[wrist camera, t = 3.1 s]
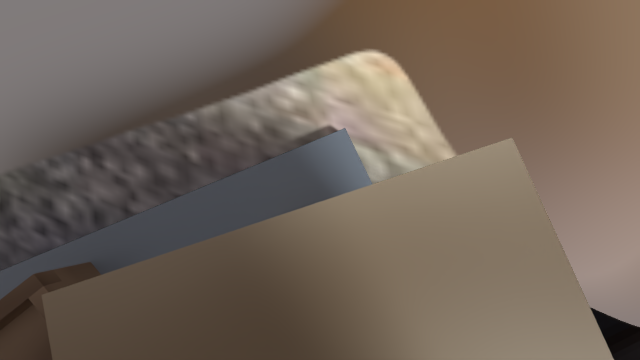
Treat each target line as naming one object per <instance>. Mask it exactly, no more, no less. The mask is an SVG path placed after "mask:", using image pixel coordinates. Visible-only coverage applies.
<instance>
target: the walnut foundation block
mask: <svg viewBox="0 0 640 360" xmlns="http://www.w3.org/2000/svg"><path fill="white" fill-rule="evenodd" d="M100 275H101V274H100V273H99V271H98V270H97V269H96V268H95V267H94V265H93V264H92V263H91V262H87V263H82V264H77V265H73V266H68V267H63V268H58V269H54V270H49V271H44V272H39V273H35V274H33V275H31V276H30V277H29V278H28V279H26V280H25V281H24V282H22V283H21V284H20V285H19V286H17V287H16V288H15V289H13V290H12V291H11V292H9V293H8V294H7V295H6V296H4V297H3V298H2V299H0V360H53V359H52V354H51V348H50V342H49V336H48V330H47V324H46V318H45V312H44V307H43V301H42V295H43V294H46V293H49V292H52V291H55V290H58V289H61V288H64V287H67V286H70V285H73V284H76V283H79V282H82V281H85V280H88V279H91V278H94V277H97V276H100Z"/></svg>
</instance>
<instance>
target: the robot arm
mask: <svg viewBox="0 0 640 360" xmlns="http://www.w3.org/2000/svg"><path fill="white" fill-rule="evenodd" d="M590 309H591V311H592V313H593V315H594V317H595V319H596V322H597V324H598V326H599V328H600V330H601V333H602V335H603V337H604V339H605V341H606V343H607V346H608V348H609V350H610V352H611V354H612V357H613V359H614V360H640V327H637V326H634V325H631V324H628V323H626V322H623V321H620V320H618V319H616V318H613V317H611V316H608V315H606V314H604V313H602V312H599V311H597V310H595V309H593V308H590Z"/></svg>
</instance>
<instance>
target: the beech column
mask: <svg viewBox="0 0 640 360" xmlns="http://www.w3.org/2000/svg"><path fill="white" fill-rule="evenodd" d="M42 301H43V307H44V312H45V318H46V324H47V330H48V336H49V342H50V348H51V354H52V359H53V360H614V359H613V357H612V354H611V352H610V350H609V348H608V346H607V343H606V341H605V339H604V337H603V335H602V333H601V330H600V328H599V326H598V324H597V322H596V319H595V317H594V315H593V313H592V311H591V309H590V306H589V304H588V302H587V300H586V298H585V296H584V293H583V291H582V289H581V287H580V285H579V282H578V280H577V278H576V276H575V274H574V272H573V269H572V267H571V265H570V263H569V261H568V258H567V256H566V254H565V252H564V250H563V248H562V245H561V243H560V241H559V239H558V237H557V234H556V232H555V230H554V228H553V226H552V224H551V221H550V219H549V217H548V215H547V213H546V211H545V208H544V206H543V204H542V202H541V199H540V197H539V195H538V193H537V191H536V189H535V187H534V184H533V182H532V180H531V178H530V175H529V173H528V171H527V169H526V167H525V165H524V162H523V160H522V158H521V156H520V154H519V151H518V149H517V147H516V145H515V143H514V141H513V138H510V139H507V140H504V141H501V142H498V143H495V144H492V145H489V146H486V147H483V148H480V149H477V150H474V151H471V152H468V153H465V154H462V155H459V156H456V157H453V158H450V159H447V160H444V161H441V162H438V163H435V164H432V165H429V166H426V167H423V168H420V169H417V170H414V171H411V172H408V173H405V174H402V175H399V176H396V177H393V178H390V179H387V180H384V181H381V182H378V183H375V184H372V185H369V186H366V187H363V188H360V189H357V190H354V191H351V192H348V193H345V194H342V195H339V196H336V197H333V198H330V199H327V200H324V201H321V202H318V203H315V204H312V205H309V206H306V207H303V208H300V209H297V210H294V211H291V212H288V213H285V214H282V215H279V216H276V217H273V218H270V219H267V220H264V221H261V222H258V223H255V224H252V225H249V226H246V227H243V228H240V229H237V230H234V231H231V232H228V233H225V234H222V235H219V236H216V237H213V238H210V239H207V240H204V241H201V242H198V243H195V244H192V245H189V246H186V247H183V248H180V249H177V250H174V251H171V252H168V253H165V254H162V255H159V256H156V257H153V258H150V259H147V260H144V261H141V262H138V263H135V264H132V265H129V266H126V267H123V268H120V269H118V270H115V271H112V272H109V273H106V274H103V275H100V276H97V277H94V278H91V279H88V280H85V281H82V282H79V283H76V284H73V285H70V286H67V287H64V288H61V289H58V290H55V291H52V292H49V293H46V294H43V295H42Z"/></svg>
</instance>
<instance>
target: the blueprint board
mask: <svg viewBox="0 0 640 360" xmlns="http://www.w3.org/2000/svg"><path fill="white" fill-rule="evenodd" d="M369 185H372V182H371V180H370V178H369V176H368V174H367V172H366V170H365V168H364V166H363V164H362V162H361V160H360V158H359V156H358V154H357V152H356V149H355V147H354V145H353V143H352V141H351V139H350V137H349V135H348V133H347V131H346V129H345V128H344V129H342V130H339V131H337V132H334V133H332V134H329V135H327V136H325V137H322V138H320V139H317V140H315V141H313V142H310V143H308V144H305V145H303V146H300V147H298V148H296V149H293V150H291V151H288V152H286V153H284V154H281V155H279V156H276V157H274V158H271V159H269V160H267V161H264V162H262V163H259V164H257V165H255V166H252V167H250V168H247V169H245V170H243V171H240V172H238V173H235V174H233V175H230V176H228V177H226V178H223V179H221V180H218V181H216V182H214V183H211V184H209V185H206V186H204V187H201V188H199V189H197V190H194V191H192V192H189V193H187V194H185V195H182V196H180V197H177V198H175V199H172V200H170V201H168V202H165V203H163V204H160V205H158V206H156V207H153V208H151V209H148V210H146V211H143V212H141V213H139V214H136V215H134V216H131V217H129V218H127V219H124V220H122V221H119V222H117V223H115V224H112V225H110V226H107V227H105V228H102V229H100V230H98V231H95V232H93V233H90V234H88V235H86V236H83V237H81V238H78V239H76V240H73V241H71V242H69V243H66V244H64V245H61V246H59V247H57V248H54V249H52V250H49V251H47V252H44V253H42V254H40V255H37V256H35V257H32V258H30V259H28V260H25V261H23V262H20V263H18V264H15V265H13V266H11V267H8V268H6V269H3V270H1V271H0V299H2V298H3V297H4V296H6V295H7V294H8V293H9V292H11V291H12V290H13V289H15V288H16V287H17V286H19V285H20V284H21V283H22V282H24V281H25V280H26V279H28V278H29V277H30V276H31V275H33V274H35V273H39V272H44V271H49V270H54V269H58V268H63V267H68V266H73V265H77V264H82V263H87V262H91V263H92V264H93V265H94V267H95V268H96V269H97V270H98V271H99V273H100V274H101V275H103V274H106V273H109V272H112V271H115V270H118V269H120V268H123V267H126V266H129V265H132V264H135V263H138V262H141V261H144V260H147V259H150V258H153V257H156V256H159V255H162V254H165V253H168V252H171V251H174V250H177V249H180V248H183V247H186V246H189V245H192V244H195V243H198V242H201V241H204V240H207V239H210V238H213V237H216V236H219V235H222V234H225V233H228V232H231V231H234V230H237V229H240V228H243V227H246V226H249V225H252V224H255V223H258V222H261V221H264V220H267V219H270V218H273V217H276V216H279V215H282V214H285V213H288V212H291V211H294V210H297V209H300V208H303V207H306V206H309V205H312V204H315V203H318V202H321V201H324V200H327V199H330V198H333V197H336V196H339V195H342V194H345V193H348V192H351V191H354V190H357V189H360V188H363V187H366V186H369Z"/></svg>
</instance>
